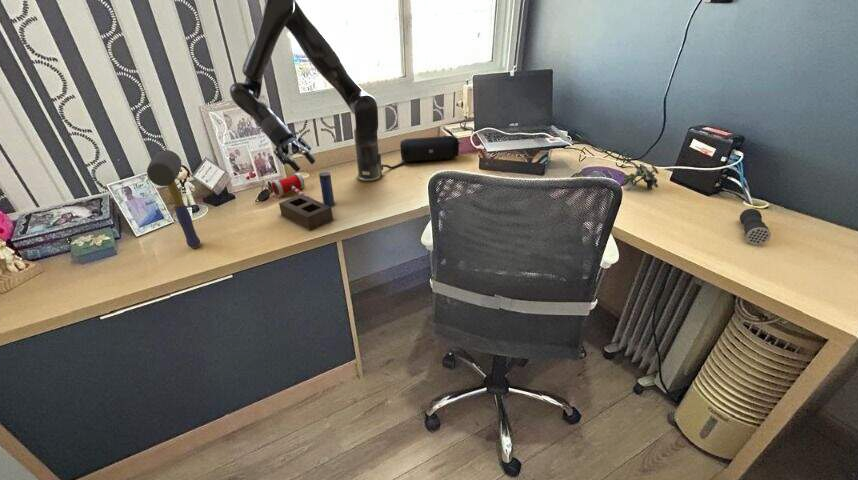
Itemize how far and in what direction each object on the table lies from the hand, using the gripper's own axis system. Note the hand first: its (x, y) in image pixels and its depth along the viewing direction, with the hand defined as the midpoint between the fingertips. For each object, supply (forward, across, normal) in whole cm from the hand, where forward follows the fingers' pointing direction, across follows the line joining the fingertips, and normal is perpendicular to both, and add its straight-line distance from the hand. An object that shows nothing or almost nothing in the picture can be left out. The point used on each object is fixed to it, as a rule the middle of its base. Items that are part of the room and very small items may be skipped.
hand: (306, 166), depth 152 cm
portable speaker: (+25, +58, -5) cm, 64 cm away
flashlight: (+110, +38, -90) cm, 147 cm away
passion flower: (+86, +60, -66) cm, 124 cm away
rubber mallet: (+1, -44, +19) cm, 48 cm away
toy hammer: (+4, +1, +16) cm, 16 cm away
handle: (+15, 0, +4) cm, 16 cm away
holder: (+15, -12, +4) cm, 20 cm away
